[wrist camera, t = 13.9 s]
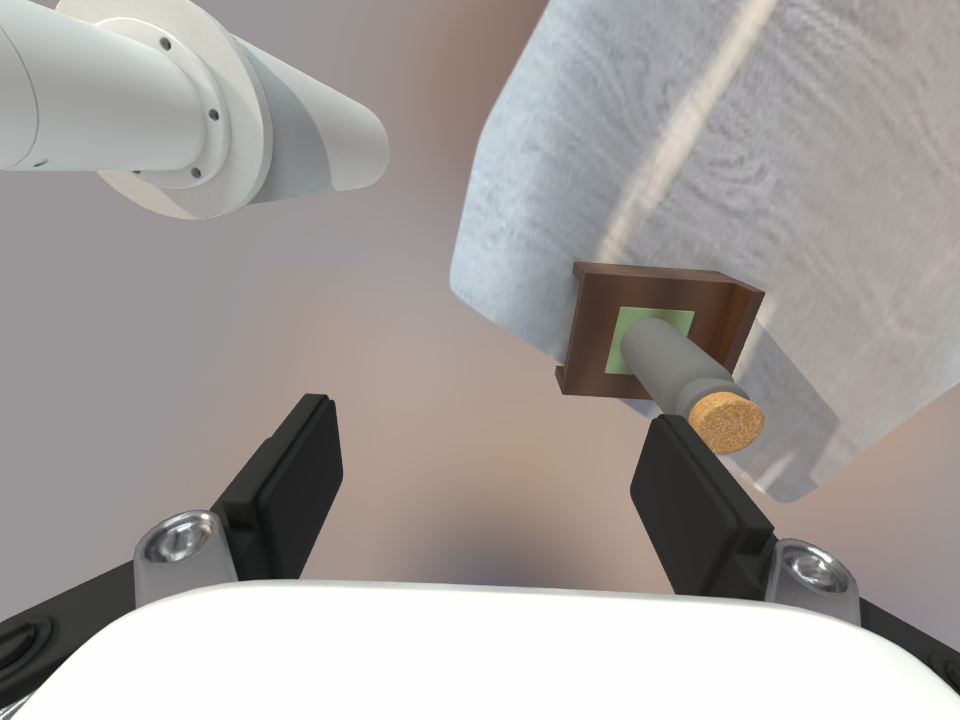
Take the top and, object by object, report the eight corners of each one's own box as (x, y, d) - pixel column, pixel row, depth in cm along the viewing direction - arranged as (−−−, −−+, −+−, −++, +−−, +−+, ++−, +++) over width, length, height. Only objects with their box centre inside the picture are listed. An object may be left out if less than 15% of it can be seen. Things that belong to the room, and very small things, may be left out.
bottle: (613, 330, 40) (680, 411, 26) (669, 308, 39) (769, 381, 25) (626, 375, 42) (694, 470, 29) (680, 356, 41) (777, 446, 28)
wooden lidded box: (554, 373, 48) (567, 409, 41) (574, 261, 42) (593, 280, 35) (680, 381, 48) (714, 418, 41) (717, 271, 42) (766, 292, 35)
